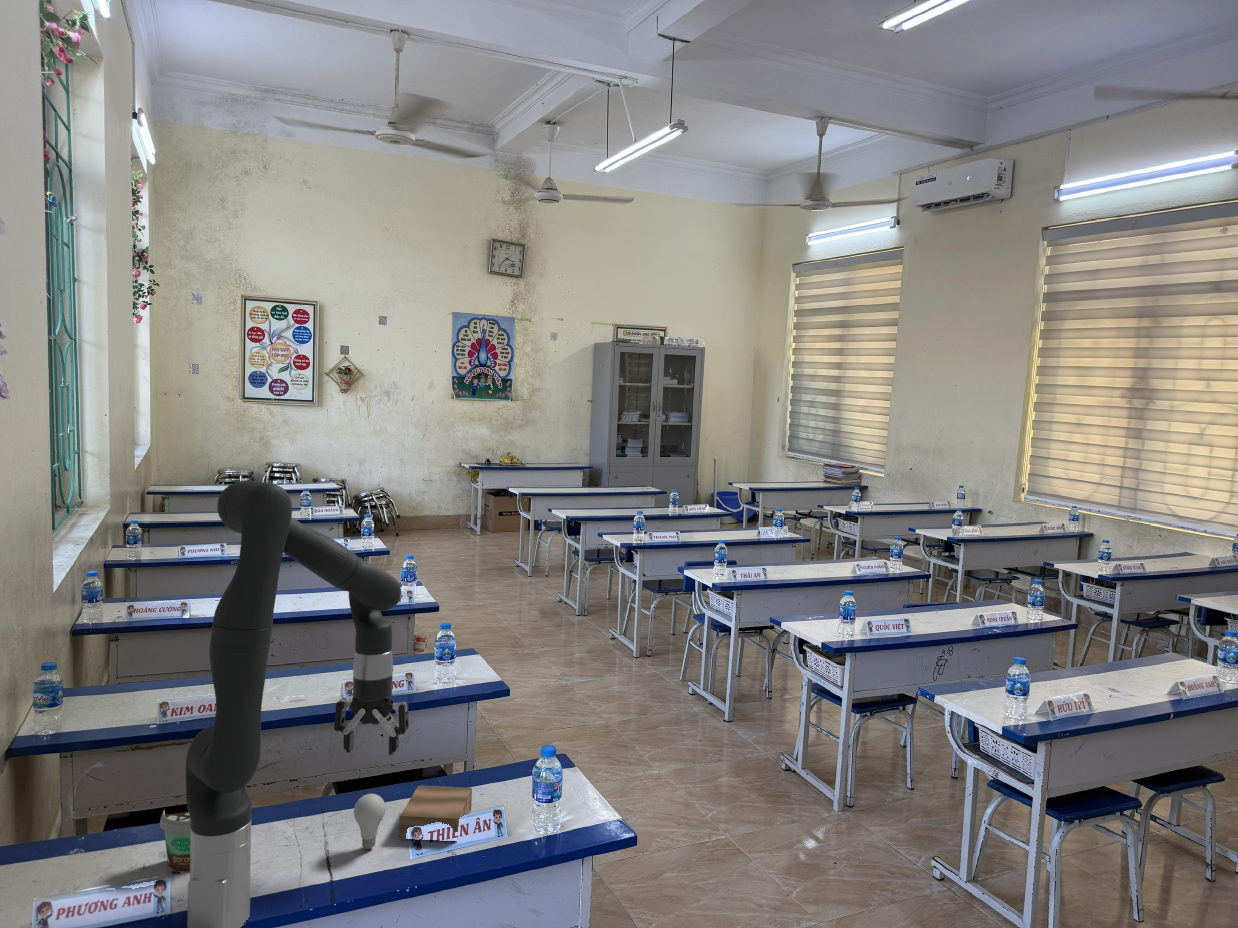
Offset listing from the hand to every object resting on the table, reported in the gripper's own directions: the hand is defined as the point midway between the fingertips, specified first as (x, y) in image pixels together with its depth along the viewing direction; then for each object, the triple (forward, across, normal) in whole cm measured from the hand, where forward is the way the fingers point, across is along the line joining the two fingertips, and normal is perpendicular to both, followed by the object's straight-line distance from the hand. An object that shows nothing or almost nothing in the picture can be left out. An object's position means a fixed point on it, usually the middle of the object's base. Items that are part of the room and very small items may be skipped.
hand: (371, 752), depth 158 cm
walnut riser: (+20, +11, +11) cm, 25 cm away
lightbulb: (+20, 0, 0) cm, 20 cm away
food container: (+20, -31, -9) cm, 38 cm away
